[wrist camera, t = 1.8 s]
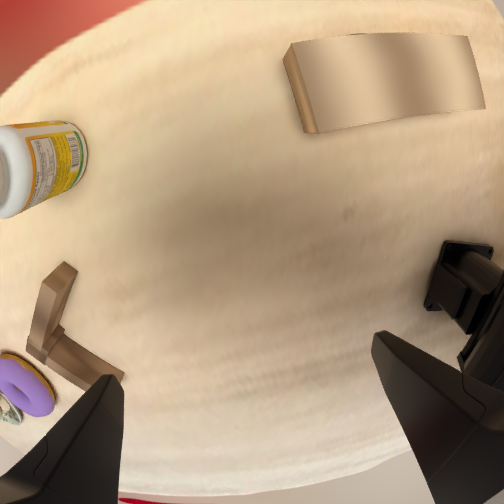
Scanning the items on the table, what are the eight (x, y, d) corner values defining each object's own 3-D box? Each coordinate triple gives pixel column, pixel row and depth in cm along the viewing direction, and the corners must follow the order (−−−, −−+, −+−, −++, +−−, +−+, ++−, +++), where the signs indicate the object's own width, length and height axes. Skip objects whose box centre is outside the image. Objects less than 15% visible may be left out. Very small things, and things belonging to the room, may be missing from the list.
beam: (435, 42, 15) (466, 33, 11) (452, 107, 17) (486, 109, 13) (281, 56, 16) (290, 40, 12) (304, 132, 18) (318, 133, 14)
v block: (73, 259, 21) (51, 280, 18) (128, 380, 26) (118, 406, 23) (14, 270, 21) (-7, 288, 18) (70, 377, 27) (58, 399, 24)
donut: (70, 395, 28) (53, 425, 24) (50, 400, 32) (36, 425, 28) (9, 337, 25) (-13, 365, 21) (0, 353, 28) (-17, 376, 24)
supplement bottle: (102, 149, 18) (9, 175, 9) (65, 205, 19) (-20, 258, 11) (57, 106, 16) (-39, 111, 8) (25, 162, 18) (-64, 194, 9)
